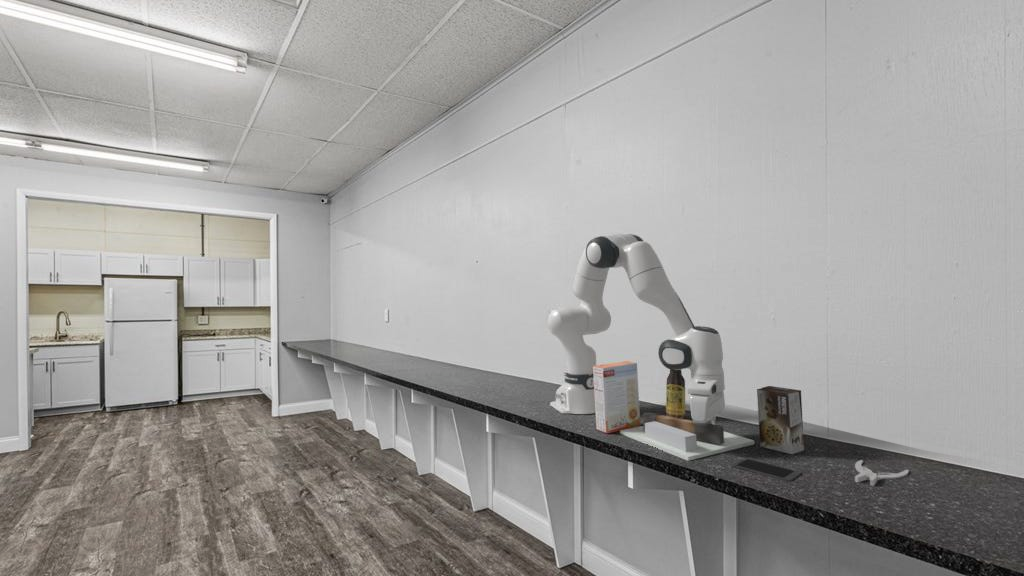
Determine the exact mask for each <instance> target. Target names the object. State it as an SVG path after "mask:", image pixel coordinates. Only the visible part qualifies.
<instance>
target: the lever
mask: <svg viewBox="0 0 1024 576" xmlns="http://www.w3.org/2000/svg"><path fill="white" fill-rule="evenodd" d="M642 416H643V417H642V419H643V420H642V421H643V422H642V423H643V426H644V430H645V423H648V422H653V421H656V422H659V423H662V424H665V425H668V426H671V427H675V428H678V429H681V430H684V431H687V432H690V433H693V434H696V440H700V441H705V442H710V443H714V444H719V445H720V444H722V443H724V432H725V431H724V425H719V424H715V425H714V424H708V423H697V422H694V421H693V420H690V419H685V418H683V419H680V418H674V417H669V416H667V415H663V414H659V415H658V413H656V412H643V413H642Z"/></svg>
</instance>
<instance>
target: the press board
mask: <svg viewBox="0 0 1024 576" xmlns="http://www.w3.org/2000/svg"><path fill="white" fill-rule="evenodd" d="M680 419H681V418H680ZM619 434H621V435H622V436H625V437H628V438H629V439H631V440H635V441H638V442H639V443H643V444H646V445H647V444H648V445H647V446H650V447H652V446H653V448H655V447H656V448H655V449H657V448H658V450H660V451H662V450H663V452H665V453H668V454H670V455H673V456H676V457H678V458H680V459H683V460H684V461H687V462H690V461H692V460H696V459H701V458H705V457H708V456H713V455H716V454H721V453H725V452H728V451H733V450H737V449H741V448H745V447H749V446H753V445H755V439H754V440H753V439H750V438H747V437H744V436H740V435H737V434H734V433H730V432H727V431H724V443H722V444H720V445H719V444H714V443H710V442H705V441H700V440H696V434H693V433H690V432H687V431H684V430H681V429H678V428H675V427H671V426H668V425H665V424H662V423H659V422H656V421H653V422H648V423H645V430H644V425H642V426H641V425H640V426H639V427H634V428H630V429H625V430H620V431H619Z"/></svg>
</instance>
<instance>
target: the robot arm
mask: <svg viewBox="0 0 1024 576" xmlns="http://www.w3.org/2000/svg"><path fill="white" fill-rule="evenodd" d="M620 267H622V268H623V269H624V271H625V273H626V275H627V278H628V281H629V283H630V285H631V288H632V291H633V292H634V293H635V295H636V297H637V298H638V299H639V300H641V301H642V302H644V303H646V304H649V305H651V306H653V307H655V308H657V309H658V310H660V311H661V312H663V314H664V316H666V318H667V319H668V320H667V321H668V322H669V324H670V326H671V328H672V330H673V332H674V335H675V336H674V337H671V338H667V339H666V340H664V341H662V342H661V344H659V346H658V352H657V353H658V358H659V361H660V362H661V364H662V366H663V367H665V368H666V369H669V370H670V369H671V370H680V369H681V370H683V369H688V370H690V381H689V382H688V383H689V384H688V385H687V388H686V389H687V394H688V395H689V394H690V395H689V406H690V407H689V408H690V414H691V419H692V421H694V422H697V423H708V424H714V425H716V418H717V415H718V414H719V413H720V412H721V411H723V410H724V409H725V406H726V403H725V402H726V401H725V393H724V391H725V388H726V386H725V372H724V369H723V361H724V360H723V359H724V353H723V352H724V351H723V343H722V337H721V335H720V333H719V331H718V330H717V329H715V328H713V327H709V326H701V325H700V326H699V325H698V326H695V325H694V323H693V321H692V318H691V317H690V315H689V313H688V311H687V309H686V307H685V306H684V304H683V302H682V300H681V298H680V296H679V295H678V293H677V292H676V291H675V289H674V288H673V285H672V284H671V282H670V280H669V278H668V276H667V274H666V272H665V269H664V267H663V264H662V263H661V260H660V258H659V257H658V255H657V253H656V251H655V250H654V248H653V247H652V245H651V244H650V243H648V242H647V241H644V240H643V238H641V237H640V236H638V235H635V234H632V233H627V234H623V233H619V234H617V233H616V234H611V235H603V236H601V235H600V236H597V237H596V236H595V237H594V238H592V239H591V240H589V242H588V243H587V244H586V246H585V248H584V249H583V252H582V253H581V257H580V258H579V261H578V264H577V268H576V272H575V277H574V280H573V284H572V292H573V294H574V296H575V297H576V298H577V299H579V300H580V304H579V305H578V306H563V307H560V308H555V309H553V310H551V312H550V313H549V315H548V318H547V326H548V330H549V331H550V332H551V334H552V335H554V337H556V338H557V339H558V340H559V341H560V343H561V344H562V345H561V346H563V349H564V352H565V360H566V361H565V362H566V372H564V373H563V374H564V375H563V376H564V382H563V383H562V384H561V385H560V386H559V387H558V388H557V389H556V392H555V400H553V401H550V403H549V405H550V407H552V408H554V409H555V410H556V411H558V412H559V413H560V414H571V415H572V414H575V415H590V414H595V396H594V378H593V366H597V353H596V351H595V349H594V348H593V347H592V346H590V345H588V344H587V343H586V342H585V340H584V336H587V335H597V334H601V333H603V332H606V331H607V330H609V328H610V326H611V323H612V316H611V312H610V311H609V310H608V309H607V307H605V305H604V301H603V296H604V295H603V294H604V291H605V286H606V282H607V279H608V274H609V271H610V269H614V268H615V269H616V268H620Z"/></svg>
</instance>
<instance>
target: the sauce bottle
mask: <svg viewBox="0 0 1024 576" xmlns="http://www.w3.org/2000/svg"><path fill="white" fill-rule="evenodd" d="M665 396H666V397H665V401H666V402H665V412H666V416H669V417H674V418H681V419H685V418H686V380H685V378H684V376H683V373H682V369H680V370H671V369H669V374H668V376H667V378H666V385H665Z"/></svg>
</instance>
